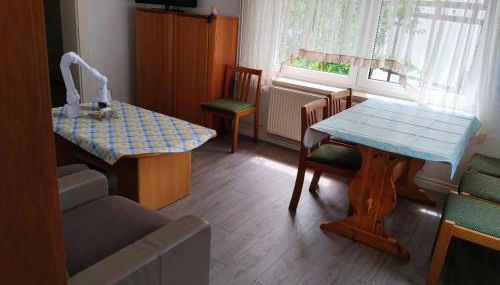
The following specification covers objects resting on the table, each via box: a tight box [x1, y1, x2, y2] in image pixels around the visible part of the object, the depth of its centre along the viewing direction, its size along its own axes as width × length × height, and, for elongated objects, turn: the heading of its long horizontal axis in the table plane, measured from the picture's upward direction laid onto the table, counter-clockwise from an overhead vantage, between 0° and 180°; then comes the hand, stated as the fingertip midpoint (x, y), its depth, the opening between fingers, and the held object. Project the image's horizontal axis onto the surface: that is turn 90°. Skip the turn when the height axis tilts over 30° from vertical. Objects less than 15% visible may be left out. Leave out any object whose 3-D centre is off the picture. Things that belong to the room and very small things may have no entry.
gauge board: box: [87, 109, 120, 122], centre depth 277 cm, size 13×18×6 cm
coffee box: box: [96, 87, 113, 110], centre depth 294 cm, size 9×6×16 cm
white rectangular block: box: [100, 108, 111, 117], centre depth 274 cm, size 9×3×5 cm, turn 141°
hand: (103, 112), depth 277 cm, fingers closed
